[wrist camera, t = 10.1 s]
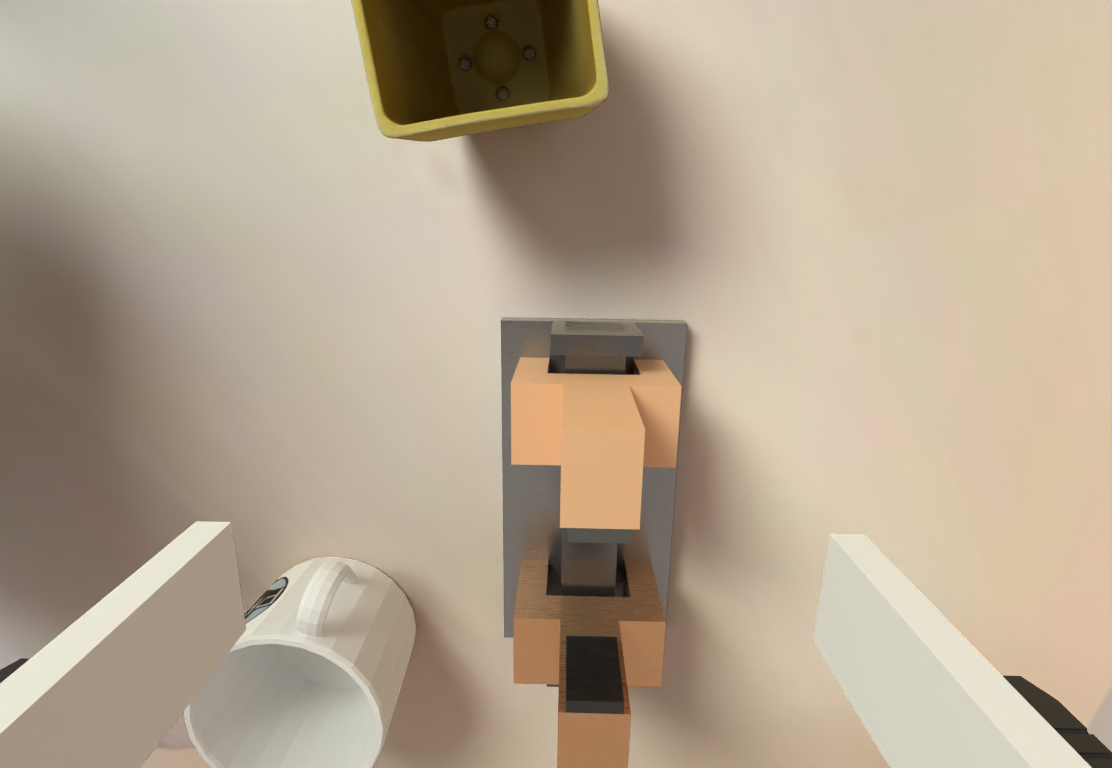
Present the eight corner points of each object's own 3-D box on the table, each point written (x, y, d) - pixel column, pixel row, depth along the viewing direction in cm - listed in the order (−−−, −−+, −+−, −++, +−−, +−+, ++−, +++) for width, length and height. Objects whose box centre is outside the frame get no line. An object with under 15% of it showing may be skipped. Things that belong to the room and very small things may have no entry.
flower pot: (575, -58, 28) (578, -184, 20) (599, 137, 30) (611, 102, 22) (396, -25, 29) (320, -134, 20) (432, 164, 31) (378, 140, 22)
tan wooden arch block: (662, 360, 32) (712, 430, 21) (658, 439, 34) (702, 545, 22) (520, 357, 32) (495, 425, 21) (520, 436, 34) (496, 540, 23)
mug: (400, 707, 40) (359, 824, 32) (247, 664, 39) (167, 773, 32) (452, 537, 37) (421, 622, 29) (285, 488, 36) (207, 561, 28)
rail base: (505, 626, 38) (476, 812, 26) (503, 317, 33) (464, 370, 21) (661, 630, 38) (705, 820, 26) (683, 320, 33) (750, 375, 21)
